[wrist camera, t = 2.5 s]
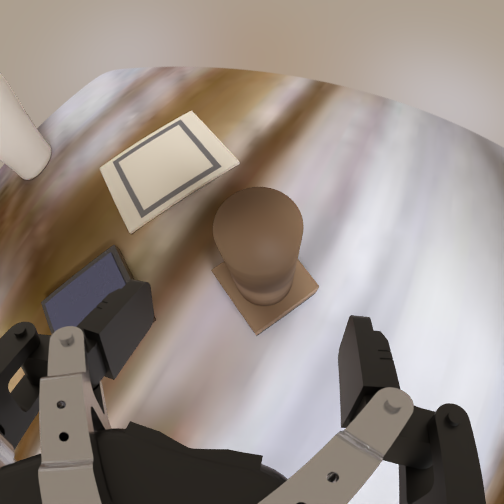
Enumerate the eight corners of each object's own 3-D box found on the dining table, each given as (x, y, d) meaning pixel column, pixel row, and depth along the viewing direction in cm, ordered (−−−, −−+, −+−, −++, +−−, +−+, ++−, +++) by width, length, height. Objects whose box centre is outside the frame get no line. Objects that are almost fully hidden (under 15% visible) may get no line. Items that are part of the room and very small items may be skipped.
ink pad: (119, 248, 23) (113, 243, 22) (156, 320, 21) (150, 318, 20) (47, 304, 22) (40, 301, 21) (74, 375, 19) (67, 374, 18)
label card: (192, 112, 28) (191, 110, 28) (239, 163, 25) (239, 161, 25) (100, 169, 26) (99, 167, 26) (131, 234, 23) (129, 232, 23)
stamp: (273, 240, 22) (270, 155, 13) (314, 294, 21) (346, 237, 11) (217, 279, 22) (174, 215, 12) (256, 335, 20) (241, 313, 11)
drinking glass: (20, 197, 27) (-58, 124, 13) (18, 165, 29) (-46, 96, 15) (61, 162, 28) (-11, 74, 14) (54, 133, 30) (-4, 54, 16)
